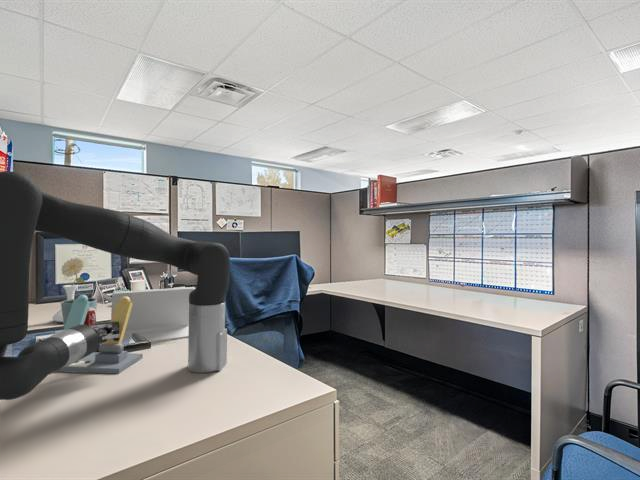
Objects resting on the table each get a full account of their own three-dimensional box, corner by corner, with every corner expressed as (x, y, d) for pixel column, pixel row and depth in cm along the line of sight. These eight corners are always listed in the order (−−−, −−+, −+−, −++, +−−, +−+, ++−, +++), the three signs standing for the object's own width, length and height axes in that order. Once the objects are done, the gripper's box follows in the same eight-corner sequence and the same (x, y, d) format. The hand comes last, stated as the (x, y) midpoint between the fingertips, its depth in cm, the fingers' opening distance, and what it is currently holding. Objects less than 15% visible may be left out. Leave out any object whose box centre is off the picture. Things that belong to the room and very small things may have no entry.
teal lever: (78, 352, 94) (95, 296, 101) (72, 350, 92) (90, 293, 99) (59, 351, 94) (78, 295, 101) (52, 350, 92) (72, 293, 99)
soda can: (85, 350, 104) (85, 310, 104) (70, 348, 105) (71, 309, 105) (99, 344, 109) (100, 306, 109) (85, 343, 111) (86, 305, 110)
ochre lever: (122, 353, 94) (137, 298, 101) (117, 351, 92) (133, 295, 99) (103, 353, 94) (119, 297, 101) (97, 351, 92) (115, 294, 99)
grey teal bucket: (91, 338, 115) (91, 302, 115) (55, 341, 112) (55, 303, 112) (100, 330, 125) (101, 297, 125) (67, 332, 122) (68, 298, 122)
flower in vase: (45, 322, 134) (45, 257, 134) (75, 316, 145) (76, 255, 144) (67, 326, 129) (67, 258, 129) (97, 319, 140) (97, 257, 139)
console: (142, 357, 99) (142, 346, 99) (119, 373, 88) (119, 360, 88) (62, 355, 99) (62, 344, 99) (29, 370, 88) (29, 358, 88)
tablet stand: (196, 337, 120) (197, 287, 120) (112, 349, 107) (112, 293, 106) (184, 325, 135) (185, 281, 135) (109, 334, 122) (110, 285, 121)
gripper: (98, 330, 78) (140, 311, 95) (39, 328, 78) (92, 310, 95) (98, 363, 78) (140, 339, 95) (40, 362, 78) (92, 338, 95)
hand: (115, 325), depth 95 cm, fingers closed
